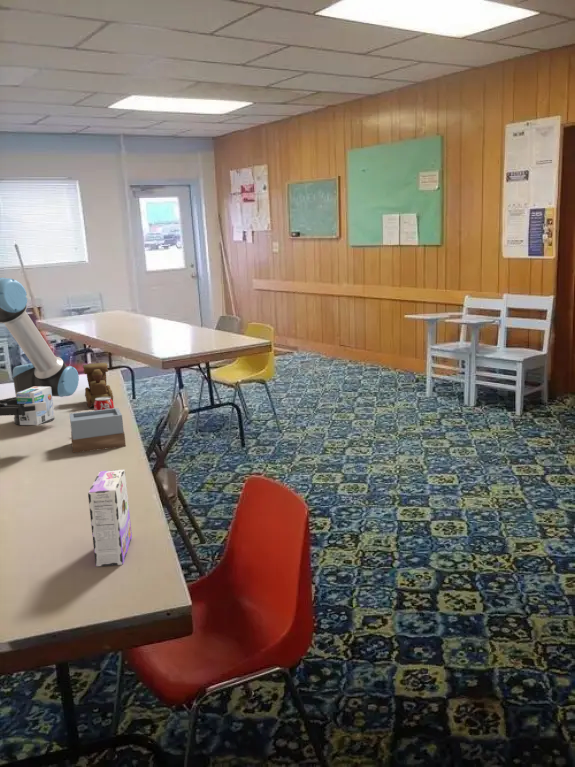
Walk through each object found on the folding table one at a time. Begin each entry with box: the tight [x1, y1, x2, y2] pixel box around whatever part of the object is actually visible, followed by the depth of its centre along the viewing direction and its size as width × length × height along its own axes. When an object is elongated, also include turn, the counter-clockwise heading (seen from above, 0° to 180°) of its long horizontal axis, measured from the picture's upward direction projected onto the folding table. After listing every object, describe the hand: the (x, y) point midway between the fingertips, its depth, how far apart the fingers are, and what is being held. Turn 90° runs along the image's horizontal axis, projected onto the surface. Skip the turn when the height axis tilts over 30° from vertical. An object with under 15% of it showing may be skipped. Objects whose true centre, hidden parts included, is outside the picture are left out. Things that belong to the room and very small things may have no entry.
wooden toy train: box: [82, 362, 114, 408], centre depth 301 cm, size 20×11×17 cm, turn 19°
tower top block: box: [69, 407, 125, 440], centre depth 234 cm, size 12×16×6 cm
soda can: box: [93, 397, 115, 411], centre depth 254 cm, size 7×7×12 cm
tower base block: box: [70, 431, 127, 454], centre depth 235 cm, size 13×17×5 cm
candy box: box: [87, 469, 133, 567], centre depth 147 cm, size 14×6×16 cm, turn 5°
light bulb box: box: [15, 386, 56, 426], centre depth 227 cm, size 11×7×11 cm, turn 167°
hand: (46, 402), depth 228 cm, fingers closed on light bulb box, 12 cm apart
